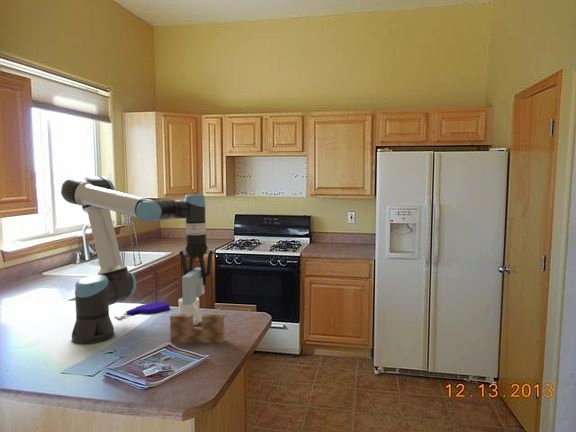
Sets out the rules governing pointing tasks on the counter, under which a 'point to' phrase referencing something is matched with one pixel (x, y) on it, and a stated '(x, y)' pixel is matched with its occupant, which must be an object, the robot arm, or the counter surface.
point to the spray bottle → (145, 309)
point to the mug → (190, 310)
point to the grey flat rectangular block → (191, 286)
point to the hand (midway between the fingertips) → (198, 293)
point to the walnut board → (197, 329)
